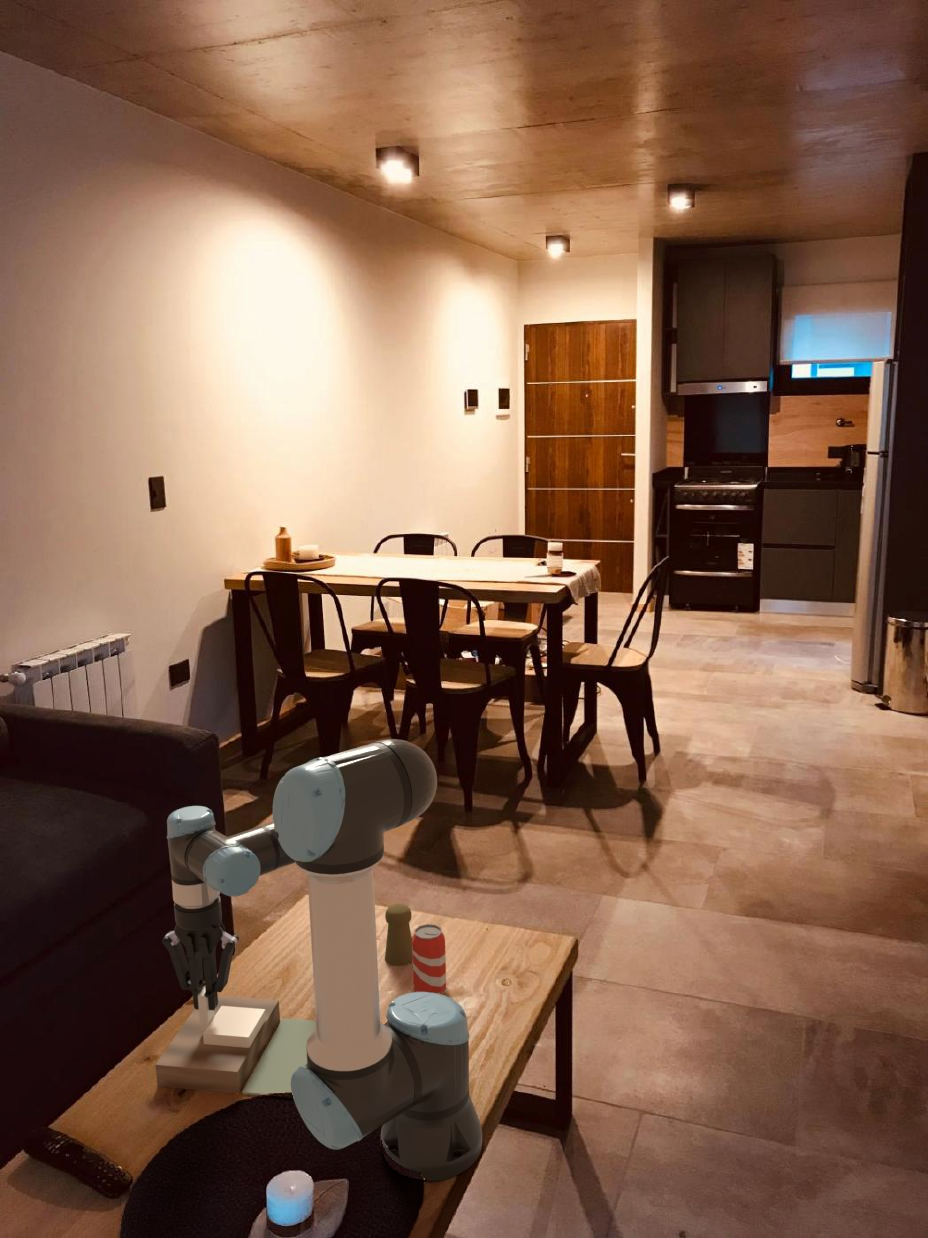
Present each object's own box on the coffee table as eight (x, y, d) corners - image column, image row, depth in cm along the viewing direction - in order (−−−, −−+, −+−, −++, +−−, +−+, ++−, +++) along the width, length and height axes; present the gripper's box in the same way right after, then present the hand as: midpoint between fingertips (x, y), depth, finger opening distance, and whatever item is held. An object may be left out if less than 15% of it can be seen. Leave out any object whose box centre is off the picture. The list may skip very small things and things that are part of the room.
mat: (331, 1102, 162) (331, 1100, 162) (242, 1094, 165) (241, 1092, 165) (363, 1026, 182) (363, 1024, 181) (282, 1020, 184) (282, 1018, 184)
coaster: (249, 1048, 170) (248, 1037, 169) (203, 1044, 171) (202, 1033, 171) (265, 1019, 177) (265, 1009, 177) (222, 1016, 179) (221, 1006, 178)
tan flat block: (239, 1094, 165) (237, 1072, 164) (157, 1086, 167) (155, 1065, 166) (280, 1020, 184) (278, 1000, 183) (206, 1014, 186) (204, 994, 185)
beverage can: (442, 1000, 189) (441, 941, 186) (409, 996, 190) (407, 938, 188) (449, 981, 195) (448, 924, 192) (417, 978, 196) (415, 921, 194)
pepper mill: (386, 949, 207) (384, 899, 204) (416, 949, 206) (414, 899, 204) (383, 966, 201) (380, 915, 198) (413, 966, 200) (412, 915, 198)
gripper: (242, 890, 172) (251, 1015, 177) (169, 886, 174) (181, 1009, 179) (225, 912, 165) (236, 1041, 170) (150, 907, 167) (162, 1035, 172)
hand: (207, 1025), depth 175 cm, fingers closed
